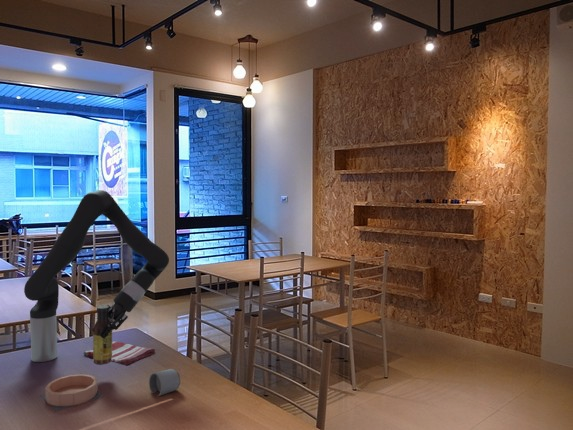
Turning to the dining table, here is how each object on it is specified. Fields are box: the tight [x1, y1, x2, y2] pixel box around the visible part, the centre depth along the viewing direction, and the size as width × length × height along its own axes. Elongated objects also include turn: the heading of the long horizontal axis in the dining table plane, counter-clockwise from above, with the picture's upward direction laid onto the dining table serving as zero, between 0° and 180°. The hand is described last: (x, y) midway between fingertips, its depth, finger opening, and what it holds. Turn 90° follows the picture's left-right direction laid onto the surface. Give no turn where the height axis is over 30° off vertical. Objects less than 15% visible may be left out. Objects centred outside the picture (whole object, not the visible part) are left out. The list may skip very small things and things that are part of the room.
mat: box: [40, 390, 105, 413], centre depth 154 cm, size 15×15×1 cm
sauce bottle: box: [92, 305, 113, 366], centre depth 167 cm, size 6×6×20 cm
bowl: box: [44, 373, 99, 407], centre depth 154 cm, size 15×15×4 cm
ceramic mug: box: [148, 368, 181, 397], centre depth 160 cm, size 11×8×8 cm
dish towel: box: [83, 340, 156, 366], centre depth 194 cm, size 17×23×3 cm
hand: (97, 334), depth 166 cm, fingers closed on sauce bottle, 6 cm apart
